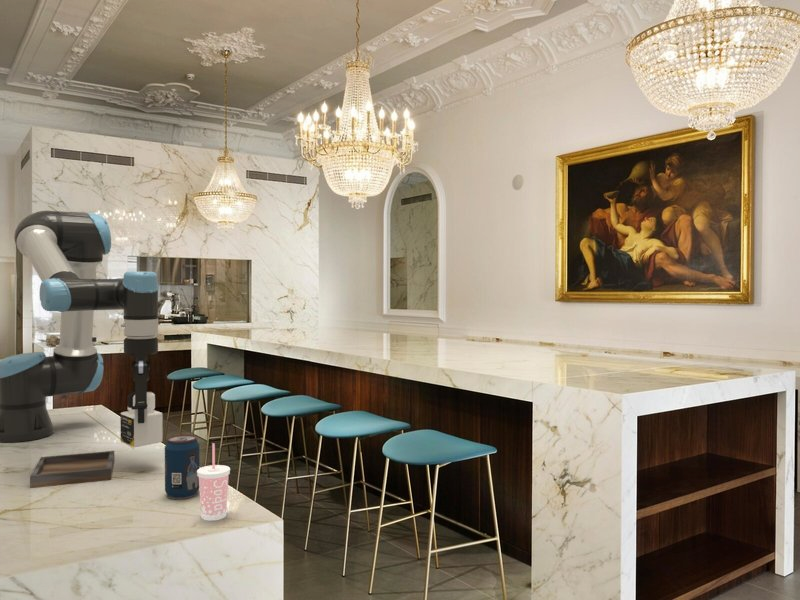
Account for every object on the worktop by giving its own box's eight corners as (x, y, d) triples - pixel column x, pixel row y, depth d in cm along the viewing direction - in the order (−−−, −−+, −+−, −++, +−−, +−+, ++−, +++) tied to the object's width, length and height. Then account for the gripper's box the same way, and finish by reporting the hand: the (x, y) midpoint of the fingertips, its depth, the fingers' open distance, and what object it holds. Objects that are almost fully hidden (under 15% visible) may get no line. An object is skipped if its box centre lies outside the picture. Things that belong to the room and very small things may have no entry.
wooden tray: (41, 467, 155) (41, 456, 155) (114, 460, 161) (114, 450, 161) (30, 487, 140) (29, 476, 140) (111, 479, 146) (110, 468, 146)
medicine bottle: (120, 442, 154) (119, 391, 153) (149, 436, 159) (149, 388, 158) (133, 448, 149) (133, 396, 148) (163, 442, 154) (162, 392, 153)
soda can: (172, 488, 140) (172, 433, 139) (204, 489, 139) (203, 433, 139) (159, 499, 133) (159, 441, 132) (193, 500, 132) (192, 442, 132)
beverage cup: (199, 524, 120) (198, 449, 119) (195, 512, 125) (194, 441, 125) (232, 519, 122) (232, 445, 122) (227, 508, 128) (227, 438, 127)
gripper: (125, 332, 161) (125, 422, 162) (121, 342, 141) (122, 444, 142) (157, 332, 164) (157, 419, 165) (158, 341, 144) (158, 441, 145)
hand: (141, 431), depth 154 cm, fingers closed on medicine bottle, 9 cm apart
